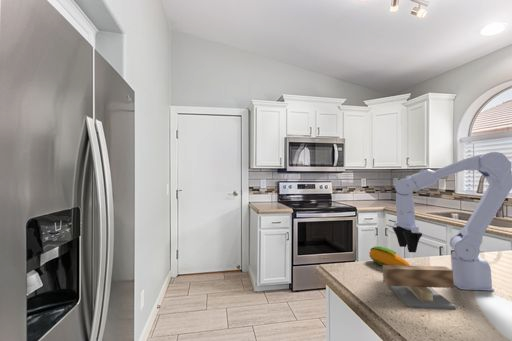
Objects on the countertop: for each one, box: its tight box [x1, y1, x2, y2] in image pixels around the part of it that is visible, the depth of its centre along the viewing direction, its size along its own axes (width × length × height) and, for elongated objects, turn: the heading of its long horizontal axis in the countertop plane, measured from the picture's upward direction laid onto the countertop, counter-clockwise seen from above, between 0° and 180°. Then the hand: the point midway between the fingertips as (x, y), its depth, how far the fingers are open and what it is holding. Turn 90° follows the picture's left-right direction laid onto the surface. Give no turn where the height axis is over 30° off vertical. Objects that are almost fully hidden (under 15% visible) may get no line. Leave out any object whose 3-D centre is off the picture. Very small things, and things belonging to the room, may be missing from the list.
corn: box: [368, 245, 411, 267], centre depth 101 cm, size 7×8×20 cm
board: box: [388, 286, 457, 310], centre depth 75 cm, size 12×14×1 cm
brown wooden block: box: [382, 265, 455, 289], centre depth 75 cm, size 18×4×5 cm, turn 81°
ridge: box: [406, 286, 433, 302], centre depth 75 cm, size 3×10×4 cm, turn 171°
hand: (407, 249), depth 91 cm, fingers open, 7 cm apart
